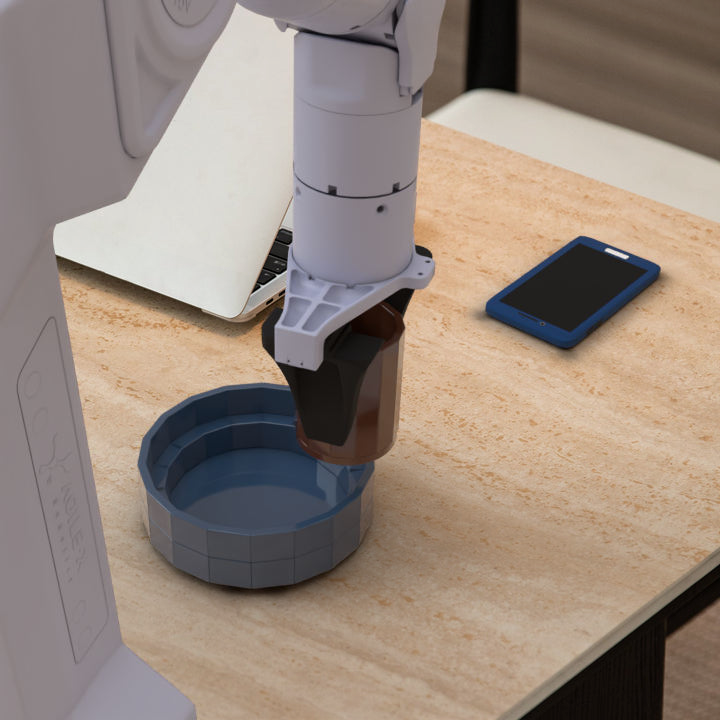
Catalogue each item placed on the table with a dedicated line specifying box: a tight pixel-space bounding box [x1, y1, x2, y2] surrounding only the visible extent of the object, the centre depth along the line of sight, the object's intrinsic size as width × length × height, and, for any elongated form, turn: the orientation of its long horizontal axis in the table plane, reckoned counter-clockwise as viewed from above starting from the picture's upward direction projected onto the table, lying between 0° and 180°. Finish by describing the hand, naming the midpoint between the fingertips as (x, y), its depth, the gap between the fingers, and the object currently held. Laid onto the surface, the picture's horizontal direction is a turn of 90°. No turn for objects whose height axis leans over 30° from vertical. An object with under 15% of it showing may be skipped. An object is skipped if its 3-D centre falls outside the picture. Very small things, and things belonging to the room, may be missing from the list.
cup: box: [294, 301, 406, 466], centre depth 64 cm, size 5×6×7 cm
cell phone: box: [484, 235, 662, 349], centre depth 92 cm, size 7×14×1 cm, turn 141°
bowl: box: [136, 381, 376, 590], centre depth 70 cm, size 13×13×4 cm
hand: (346, 404), depth 65 cm, fingers closed on cup, 5 cm apart
